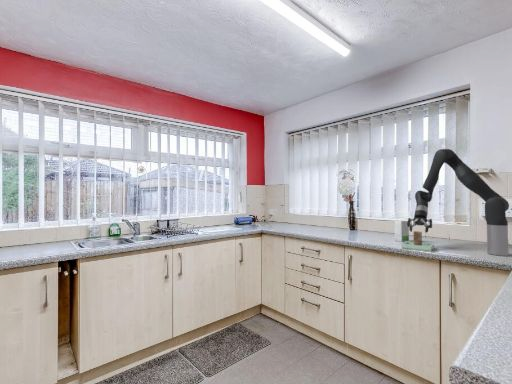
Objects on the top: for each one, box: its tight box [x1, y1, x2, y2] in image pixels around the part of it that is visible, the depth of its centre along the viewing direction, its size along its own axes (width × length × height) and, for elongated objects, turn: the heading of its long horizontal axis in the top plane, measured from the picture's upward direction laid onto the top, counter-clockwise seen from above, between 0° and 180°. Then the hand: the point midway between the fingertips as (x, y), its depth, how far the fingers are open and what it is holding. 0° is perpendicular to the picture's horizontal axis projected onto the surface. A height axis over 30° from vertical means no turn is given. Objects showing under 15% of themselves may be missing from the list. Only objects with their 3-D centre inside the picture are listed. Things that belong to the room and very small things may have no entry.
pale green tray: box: [401, 240, 435, 253], centre depth 177 cm, size 16×14×3 cm
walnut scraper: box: [413, 231, 423, 246], centre depth 177 cm, size 4×4×10 cm
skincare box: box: [394, 219, 410, 243], centre depth 207 cm, size 8×7×16 cm
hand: (418, 231), depth 178 cm, fingers open, 8 cm apart
